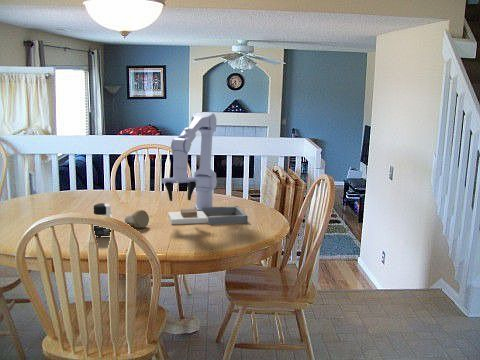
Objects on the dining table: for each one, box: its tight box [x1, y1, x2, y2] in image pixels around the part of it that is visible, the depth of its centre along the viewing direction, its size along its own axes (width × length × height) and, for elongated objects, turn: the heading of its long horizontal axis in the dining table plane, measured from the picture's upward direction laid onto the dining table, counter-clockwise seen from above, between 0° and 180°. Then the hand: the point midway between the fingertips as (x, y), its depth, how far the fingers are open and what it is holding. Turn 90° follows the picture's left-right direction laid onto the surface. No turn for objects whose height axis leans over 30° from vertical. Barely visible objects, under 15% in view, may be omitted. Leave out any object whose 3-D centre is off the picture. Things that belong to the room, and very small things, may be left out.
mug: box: [124, 209, 150, 229], centre depth 204 cm, size 8×10×10 cm
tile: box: [180, 208, 198, 217], centre depth 216 cm, size 6×6×2 cm
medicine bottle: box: [93, 202, 113, 237], centre depth 191 cm, size 7×7×12 cm
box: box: [201, 205, 249, 225], centre depth 220 cm, size 17×16×3 cm
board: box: [167, 210, 208, 225], centre depth 216 cm, size 12×15×2 cm
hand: (180, 200), depth 210 cm, fingers open, 7 cm apart
